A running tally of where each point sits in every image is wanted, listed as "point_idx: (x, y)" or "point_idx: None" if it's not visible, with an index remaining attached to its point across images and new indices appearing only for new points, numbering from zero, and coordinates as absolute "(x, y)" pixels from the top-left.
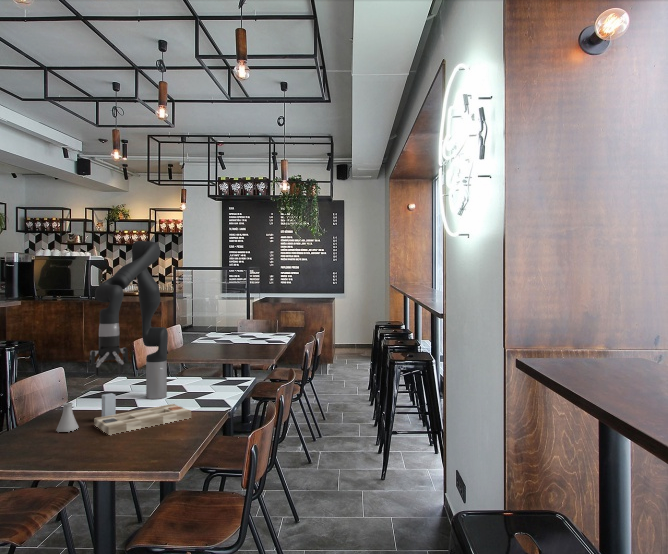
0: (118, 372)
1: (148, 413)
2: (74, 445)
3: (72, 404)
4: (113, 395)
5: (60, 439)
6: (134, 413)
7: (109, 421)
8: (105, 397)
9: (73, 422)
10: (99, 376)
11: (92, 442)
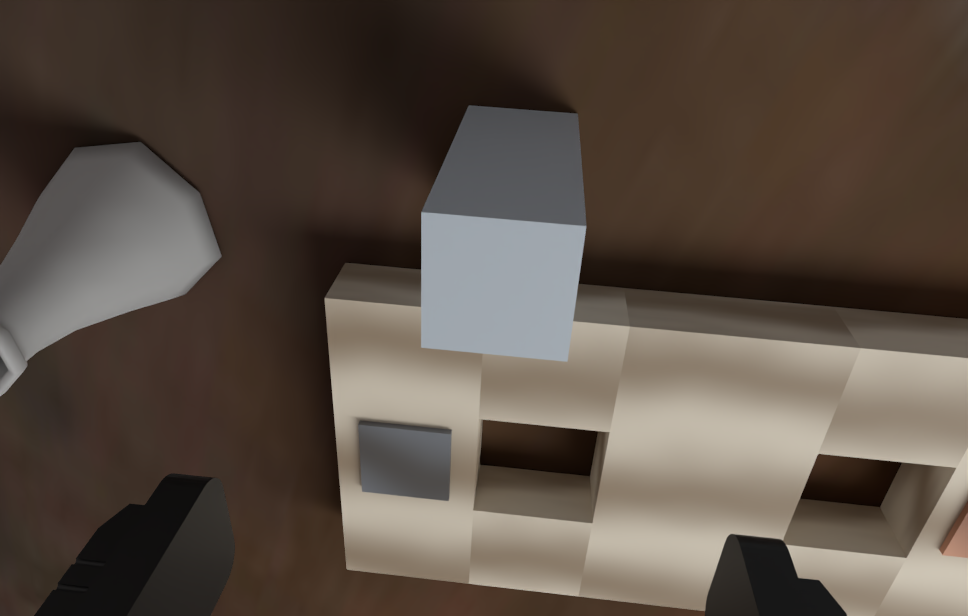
0: (735, 557)
1: (746, 488)
2: None
3: (24, 369)
4: (536, 357)
5: (84, 390)
6: (667, 410)
7: (388, 489)
8: (427, 341)
9: (140, 304)
10: (230, 559)
11: (251, 553)
